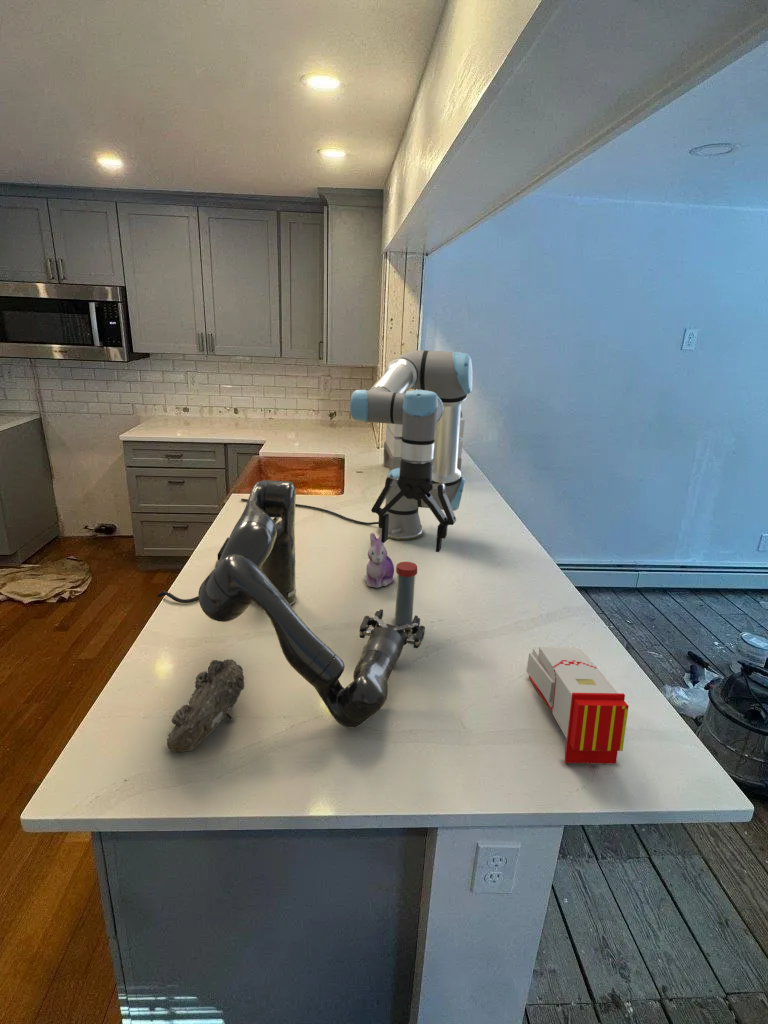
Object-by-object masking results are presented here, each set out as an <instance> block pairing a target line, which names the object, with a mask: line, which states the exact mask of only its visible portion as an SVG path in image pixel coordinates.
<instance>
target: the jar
mask: <svg viewBox="0 0 768 1024" xmlns="http://www.w3.org/2000/svg"><path fill="white" fill-rule="evenodd" d="M396 574H397V573H396ZM415 587H416V575H415V576H412V577H403V576H400V575H398V574H397V576H396V589H395V590H396V593H395V609H394V624H395V626H402V625H405V624H408V625H410V624H412V622H413V619H414V616H413V615H414V603H415Z"/></svg>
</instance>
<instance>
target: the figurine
mask: <svg viewBox="0 0 768 1024" xmlns="http://www.w3.org/2000/svg"><path fill="white" fill-rule="evenodd" d="M381 539H382V533H381V534H379V536H378V537H376V534H375V533H374V532H370V534H369V540H370V547H369V548H368V551H367V558H368V563H367V564H366V576H365V582H366V585H367V586H368V587H371V588H376V589H379V588H381V587H387V586H389V584H391V583H392V582H393V581H394V580H393V579H394V574H395V567H394V563H393V560H392V559H391V558H390V556H389V555H388V552H387V549H386V546H385V543H382V542H381Z"/></svg>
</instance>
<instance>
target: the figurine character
mask: <svg viewBox="0 0 768 1024" xmlns="http://www.w3.org/2000/svg"><path fill="white" fill-rule="evenodd" d="M228 539H229V537H226V539H225V541H224V543H223V544H222V546H221V547H220V549H219V551H218V552H217V560H216V562H215V564H214V568H215V567H216V565H217V564H218V562H219V560H220V557H221V555H222V552H223V550H224V548H225V546H226V543H227V541H228Z"/></svg>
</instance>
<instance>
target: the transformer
mask: <svg viewBox="0 0 768 1024" xmlns="http://www.w3.org/2000/svg"><path fill="white" fill-rule="evenodd" d="M406 392H407V391H405V392H404V393H406ZM464 429H465V419H464V418H463V411H461V414H460V429H459V444H458V460H457V468H458V469H459V470H460V472H461V473H462V461H463V460H462V453H463V442H464V441H463V440H462V439H463V438H464V431H465V430H464ZM401 442H402V425H400V424H389V423H386V428H385V438H384V442H383V466H384V467H388V468H389V472H390V471H391V470H393V469H396V468H400V461H401V460H402V458H401Z"/></svg>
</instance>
